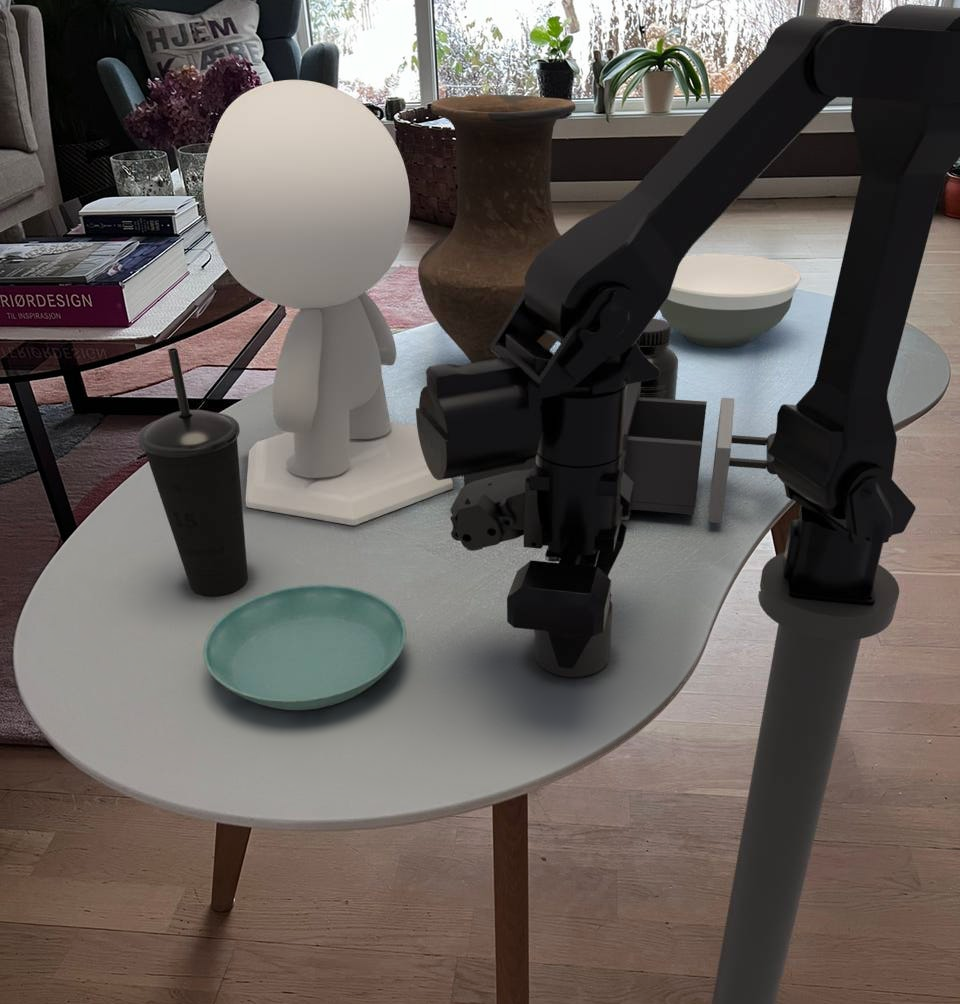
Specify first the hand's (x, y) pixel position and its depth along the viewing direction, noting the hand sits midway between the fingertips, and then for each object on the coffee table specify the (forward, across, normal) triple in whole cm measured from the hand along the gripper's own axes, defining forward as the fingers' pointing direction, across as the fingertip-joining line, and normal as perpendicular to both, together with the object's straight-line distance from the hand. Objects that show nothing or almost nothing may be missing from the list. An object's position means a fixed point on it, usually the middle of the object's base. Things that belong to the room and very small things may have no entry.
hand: (572, 643), depth 76 cm
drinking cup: (+1, -5, -31) cm, 31 cm away
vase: (+1, -56, -17) cm, 59 cm away
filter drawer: (0, -27, +6) cm, 28 cm away
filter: (+1, 0, 0) cm, 1 cm away
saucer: (+1, +5, -19) cm, 20 cm away
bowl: (+2, -75, +8) cm, 75 cm away
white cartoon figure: (+1, -27, -27) cm, 38 cm away
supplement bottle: (+1, -41, +1) cm, 41 cm away
